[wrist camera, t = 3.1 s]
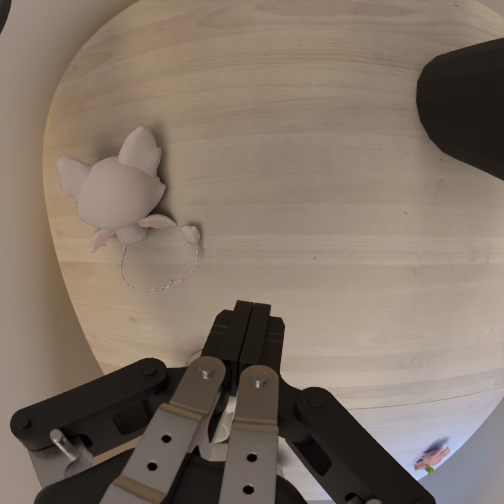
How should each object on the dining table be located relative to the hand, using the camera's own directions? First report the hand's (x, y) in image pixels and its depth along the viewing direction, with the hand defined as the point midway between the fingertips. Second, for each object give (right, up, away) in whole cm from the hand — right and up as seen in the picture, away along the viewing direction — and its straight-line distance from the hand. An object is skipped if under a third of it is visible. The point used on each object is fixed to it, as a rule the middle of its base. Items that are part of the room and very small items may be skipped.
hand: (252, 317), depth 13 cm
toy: (-10, +8, +15) cm, 20 cm away
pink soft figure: (+39, -41, +31) cm, 65 cm away
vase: (+19, +16, +6) cm, 26 cm away
